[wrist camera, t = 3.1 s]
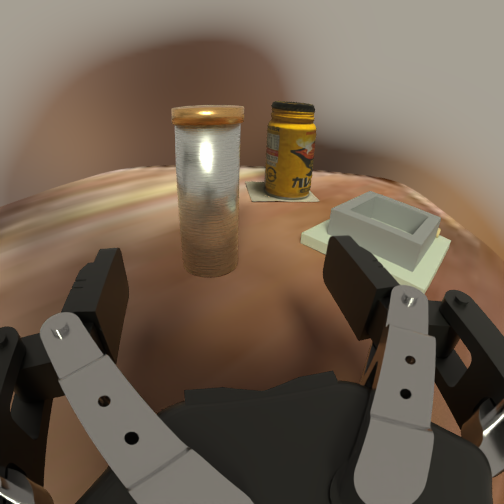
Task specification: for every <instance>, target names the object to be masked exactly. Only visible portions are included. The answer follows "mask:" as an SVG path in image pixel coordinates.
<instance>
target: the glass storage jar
mask: <svg viewBox="0 0 504 504" xmlns="http://www.w3.org/2000/svg"><path fill="white" fill-rule="evenodd" d="M242 122H244V107H242V106H232V105H231V106H230V105H200V106H185V107H177V108H172V124H175V149H176V174H177V193H178V208H179V222H180V235H181V247H182V257H183V266H184V268H185V269H186V270H187V271H188V272H189V273H191V274H193V275H196V276H200V277H218V276H222V275H225V274H228V273H230V272H231V271H233V270H234V269H235V268H236V266H237V263H238V210H239V163H240V127H241V126H240V125H241V123H242Z"/></svg>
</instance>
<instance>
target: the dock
mask: <svg viewBox="0 0 504 504" xmlns="http://www.w3.org/2000/svg"><path fill="white" fill-rule="evenodd" d="M440 220H441V218H440V217H438V216H435V215H433V214H430V213H428V212H425V211H423V210H420V209H418V208H415V207H413V206H410V205H407V204H405V203H402V202H399V201H397V200H394V199H391V198H389V197H386V196H383V195H380V194H377V193H374V192H372V191H369V192H367V193H365V194H362V195H360V196H358V197H356V198H354V199H352V200H349V201H347V202H345V203H343V204H341V205H338V206H336V207H334V208H332V209H331V215H330V219H329V220H327V221H325V222H323V223H321V224H319V225H317V226H315V227H313V228H311V229H309V230H307V231H305V232H303V233H302V235H301V243H302V244H304V245H306V246H308V247H311V248H313V249H315V250H317V251H319V252H321V253H323V254H326V251H327V246H328V241H329V238H330V237H331V236H341V235H349V236H351V237H352V238H353V240H354V241H355V242H356V243H357V244H358V245H359V246H361V247H363V248H364V249H366V250H368V251H369V252H371V253H372V254H373V255H374V256H375V257H376V258H377V259H378V261H379V262H380V263H381V264H382V265H383V268H384V267H385V268H386V269H387V271H388V272H389V273H390V274H391V275H392V276H393V277H394V278H395V280H396V281H397V282H398V283H399V284H400V285H408V286H412V287H415V288H417V289H418V290H420V291H421V292H423V293H424V294H425V292H426V290H427V289H428V287H429V285H430V283H431V281H432V280H433V278H434V276H435V274H436V272H437V270H438V268H439V266H440V264H441V262H442V260H443V258H444V256H445V254H446V252H447V250H448V248H449V245H450V242H451V240H448V239H446V238H444V237H442V236H439V234H440V231H441V229H439V228H438V227H439V224H440Z"/></svg>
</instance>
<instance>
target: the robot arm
mask: <svg viewBox="0 0 504 504" xmlns="http://www.w3.org/2000/svg"><path fill="white" fill-rule="evenodd" d="M323 279H324V282H325V285H326V286H327V288H328V290H329V291H330V293H331V295H332V296H333V298H334V300H335V301H336V303H337V305H338V306H339V308H340V310H341V311H342V313H343V315H344V316H345V318H346V320H347V321H348V323H349V325H350V327H351V328H352V330H353V332H354V333H355V335H356V337H357V339H358V340H359V341H360V340H364V339H369V338H371V340H372V343H371V346H370V348H369V352H368V356H367V359H366V363H365V367H364V370H363V374H362V377H361V381H360V384H357V383H353V382H348V381H337V379H336V376H335V374H334V372H333V371H329V372H324V373H319V374H313V375H308V376H302V377H298V378H296V379H293V380H291V381H289V382H286V383H284V384H281V385H279V386H276V387H273V388H271V389H268V390H265V391H256V390H244V389H234V388H225V387H220V388H208V389H193V390H184V393H185V401H183V402H179V403H176V404H174V405H171V406H169V407H167V408H166V409H164V410H162V411H161V412H159V413H158V414H155V413H154V411H153V410H152V409H151V408H150V407H149V406H148V405H147V403H146V402H145V401H144V400H143V399H142V398H141V396H140V395H139V394H138V393H137V392H136V390H135V389H134V388H133V387H132V386H131V384H130V383H129V382H128V381H127V379H126V378H125V377H124V376H123V374H122V373H121V372H120V370H119V369H118V368H117V366H116V365H115V364H116V362H117V356H118V350H119V344H120V338H121V333H122V328H123V322H124V317H125V313H126V308H127V303H128V298H129V287H128V281H127V276H126V272H125V267H124V263H123V258H122V253H121V250H120V248H107V249H100V250H99V252H98V254H97V256H96V258H95V261H94V263H88V264H87V265H85V266H84V267H83V268H82V269H81V270H80V271H79V273H78V275H77V277H76V280H75V282H74V284H73V286H72V289H71V290H70V293H69V295H68V297H67V299H66V302H65V304H64V306H63V309H62V311H61V313H58V314H55V315H53V316H51V317H50V318H48V319H47V320H46V321H45V322H44V324H43V325H42V327H41V329H40V333H38V334H34V335H30V336H26V337H23V338H20V336H19V334H18V332H17V331H16V329H14V328H13V327H2V328H0V504H54V502H53V499H52V497H51V495H50V494H49V493H48V491H47V490H46V489H44V488H43V486H44V467H45V454H46V444H47V435H48V428H49V420H50V414H51V408H52V402H53V398H55V397H60V396H64V395H66V397H67V399H68V401H69V403H70V404H71V406H72V408H73V410H74V412H75V413H76V415H77V417H78V419H79V420H80V422H81V424H82V425H83V427H84V428H85V430H86V432H87V433H88V435H89V436H90V438H91V440H92V441H93V443H94V444H95V446H96V447H97V449H98V450H99V452H100V453H101V455H102V456H103V457H104V459H105V460H106V462H107V463H108V464H109V467H108V468H107V469H106V470H105V471H104V472H103V474H102V475H101V476H100V477H99V478H98V479H97V480H96V481H95V482H94V484H93V485H92V486H91V487H90V488H89V489H88V490H87V491H86V492H85V493H84V495H83V496H82V497H81V498H80V499H79V500H78V501H77V502H76V503H75V504H493V498H492V477H496V476H498V475H499V474H501V473H502V472H504V336H503V335H502V334H501V333H500V331H499V330H498V329H497V328H496V326H495V325H494V324H493V323H492V321H491V320H490V319H489V318H488V317H487V316H486V314H485V313H484V312H483V311H482V310H481V309H480V307H479V306H478V305H477V304H476V303H475V302H474V301H473V299H472V298H471V297H470V296H468V295H467V294H465V293H463V292H461V291H458V290H449V291H447V292H446V294H445V296H444V298H443V300H442V301H430V300H428V299H427V297H426V296H425V294H424V293H423V292H421V291H420V290H418V289H417V288H415V287H412V286H408V285H400V284H399V283H398V282H397V281H396V280H395V278H394V277H393V276H392V275H391V274H390V273H389V272H388V271H387V269H386V268H385V267H384V268H383V265H382V264H381V263H380V262H379V261H378V259H377V258H376V257H375V256H374V255H373V254H372V253H371V252H369V251H368V250H366V249H364V248H363V247H361V246H359V245H358V244H357V243H356V242H355V241H354V240H353V238H352V237H351V236H349V235H341V236H331V237H330V238H329V241H328V246H327V251H326V257H325V262H324V268H323ZM459 339H461V340H462V341H463V343H464V344H465V345H466V347H467V348H468V350H469V351H470V353H471V357H472V361H471V364H470V366H469V368H468V369H467V368H466V366H465V365H464V363H463V362H462V360H461V359H460V357H459V356H458V354H457V353H456V351H455V350H454V348H455V346H456V344H457V343H458V341H459ZM434 382H435V383H436V385H437V387H438V389H439V391H440V392H441V394H442V396H443V398H444V400H445V401H446V403H447V405H448V407H449V409H450V411H451V412H452V414H453V416H454V418H455V420H456V422H457V424H458V426H459V428H460V430H461V437H460V436H458V435H456V434H454V433H452V432H450V431H448V430H446V429H444V428H442V427H440V426H438V425H436V424H434V423H432V422H431V414H432V404H433V393H434ZM13 391H14V392H15V395H14V399H13V403H12V408H11V412H10V403H11V399H12V395H13Z"/></svg>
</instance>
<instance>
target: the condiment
mask: <svg viewBox="0 0 504 504" xmlns="http://www.w3.org/2000/svg"><path fill="white" fill-rule="evenodd" d="M314 112H315V108H314V106H313V105H311V104H305V103H297V102H296V103H295V102H281V101H275V102H273V104H272V113H271V117H272V119H271V121H270V122H269V124H268V130H267V151H266V170H265V182H253V181H252V182H245V183H246V186H247V189H248V192H249V194H250V197H251V199H252V202H253V201H286V202H318V201H319V200H318V199H317V198H316V197H315V196H314V195H313V194H312V193H311V191H310V187H311V178H312V171H313V170H312V168H313V159H314V148H315V138H316V127H315V125H314V124H313V121H314ZM268 196H269V197H268Z"/></svg>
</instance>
